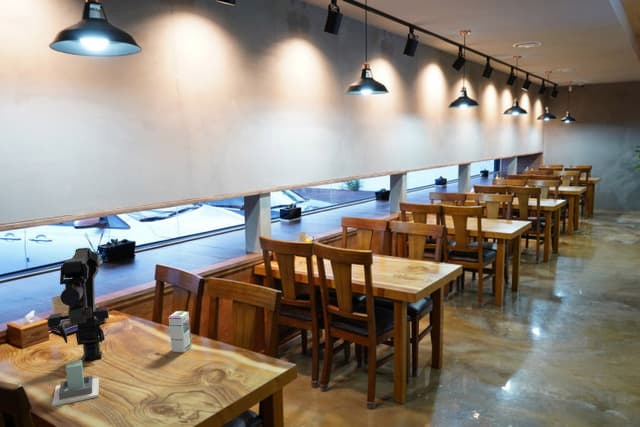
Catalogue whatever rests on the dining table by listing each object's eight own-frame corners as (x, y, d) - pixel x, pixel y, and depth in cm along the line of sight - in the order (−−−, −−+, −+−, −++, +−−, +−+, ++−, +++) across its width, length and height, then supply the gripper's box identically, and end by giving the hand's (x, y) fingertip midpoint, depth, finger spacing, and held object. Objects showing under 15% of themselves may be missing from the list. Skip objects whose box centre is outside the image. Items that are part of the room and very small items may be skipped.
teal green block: (69, 388, 163) (67, 362, 162) (84, 385, 165) (81, 359, 163) (68, 394, 159) (65, 367, 158) (83, 391, 161) (81, 365, 159)
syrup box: (185, 352, 191) (182, 316, 189) (170, 351, 192) (168, 315, 190) (191, 346, 196) (189, 311, 194) (178, 345, 198) (175, 310, 196)
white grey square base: (56, 387, 165) (55, 379, 165) (98, 379, 170) (98, 371, 170) (52, 406, 154) (51, 397, 153) (98, 396, 159) (97, 388, 158)
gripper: (43, 307, 159) (48, 354, 161) (106, 299, 166) (110, 343, 168) (47, 298, 169) (52, 342, 171) (106, 290, 176) (110, 332, 178)
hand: (81, 340), depth 172 cm, fingers open, 9 cm apart
